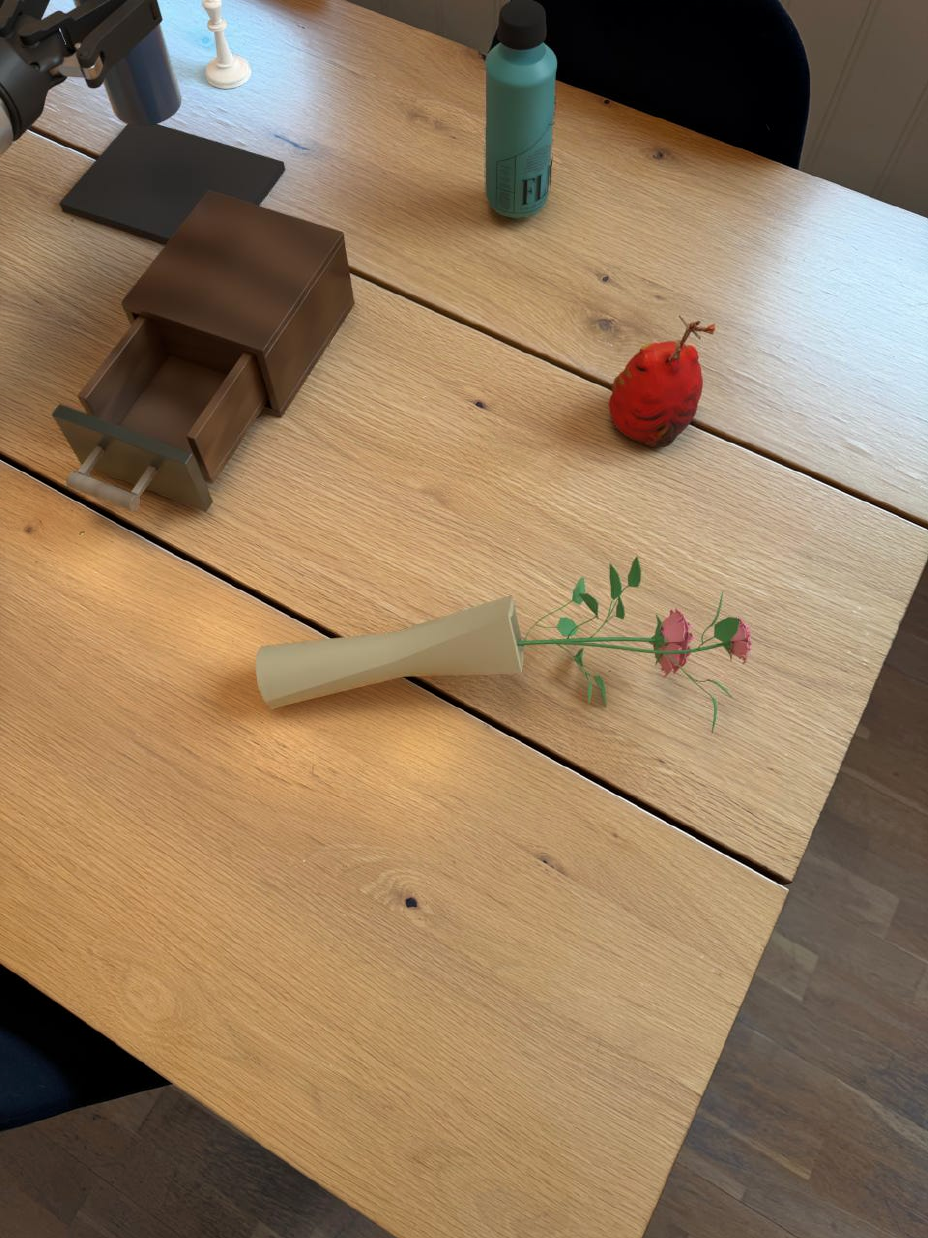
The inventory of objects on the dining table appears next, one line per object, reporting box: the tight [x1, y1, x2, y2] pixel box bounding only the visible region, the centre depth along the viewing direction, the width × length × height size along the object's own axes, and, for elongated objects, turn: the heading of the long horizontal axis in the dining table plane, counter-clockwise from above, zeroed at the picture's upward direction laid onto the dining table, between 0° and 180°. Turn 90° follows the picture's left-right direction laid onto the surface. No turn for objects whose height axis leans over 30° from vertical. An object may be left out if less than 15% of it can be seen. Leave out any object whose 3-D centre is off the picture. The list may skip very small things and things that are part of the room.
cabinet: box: [120, 190, 355, 418], centre depth 91 cm, size 15×14×9 cm
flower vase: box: [255, 555, 753, 734], centre depth 75 cm, size 12×12×35 cm
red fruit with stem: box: [608, 314, 716, 449], centre depth 83 cm, size 8×7×15 cm
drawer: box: [51, 315, 269, 513], centre depth 85 cm, size 18×12×7 cm
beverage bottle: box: [483, 0, 558, 219], centre depth 93 cm, size 6×7×20 cm
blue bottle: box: [72, 0, 183, 126], centre depth 87 cm, size 6×6×18 cm
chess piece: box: [201, 0, 252, 90], centre depth 107 cm, size 5×5×10 cm
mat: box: [58, 123, 286, 246], centre depth 103 cm, size 18×14×1 cm
